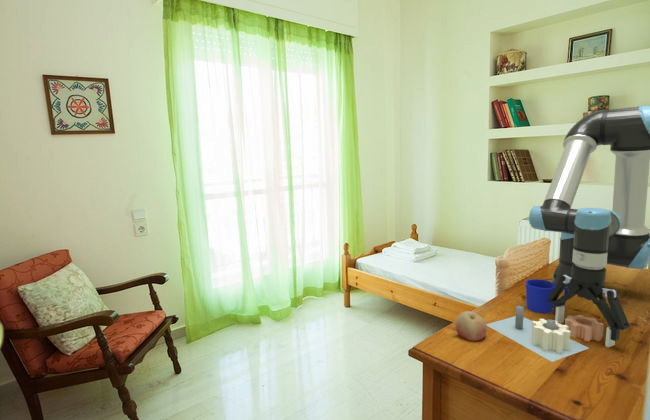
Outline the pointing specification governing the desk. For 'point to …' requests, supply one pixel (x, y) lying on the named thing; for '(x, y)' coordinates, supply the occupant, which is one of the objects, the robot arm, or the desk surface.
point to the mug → (540, 295)
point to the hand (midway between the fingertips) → (582, 338)
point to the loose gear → (584, 327)
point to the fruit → (470, 326)
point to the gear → (550, 336)
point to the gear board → (521, 333)
